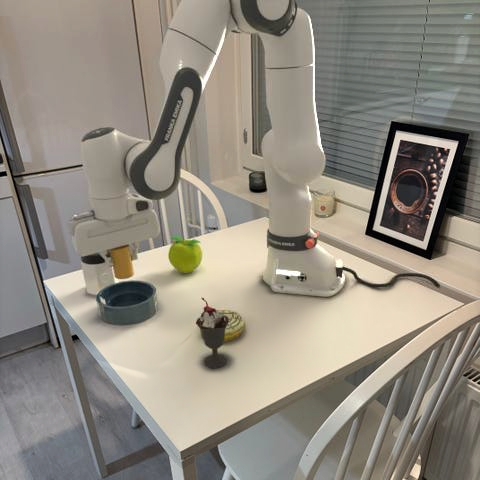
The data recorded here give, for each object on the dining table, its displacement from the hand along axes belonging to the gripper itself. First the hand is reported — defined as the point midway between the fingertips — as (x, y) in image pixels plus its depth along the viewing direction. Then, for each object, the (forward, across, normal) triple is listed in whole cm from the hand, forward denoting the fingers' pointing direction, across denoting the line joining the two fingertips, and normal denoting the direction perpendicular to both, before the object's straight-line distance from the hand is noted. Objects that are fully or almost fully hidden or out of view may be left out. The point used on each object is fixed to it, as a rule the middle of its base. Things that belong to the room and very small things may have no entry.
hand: (122, 262), depth 117 cm
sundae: (+14, +6, -31) cm, 34 cm away
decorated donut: (+14, +13, -22) cm, 29 cm away
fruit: (+14, +23, +12) cm, 29 cm away
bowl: (+14, 0, 0) cm, 14 cm away
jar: (+14, -1, +16) cm, 21 cm away
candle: (+3, 0, 0) cm, 3 cm away
